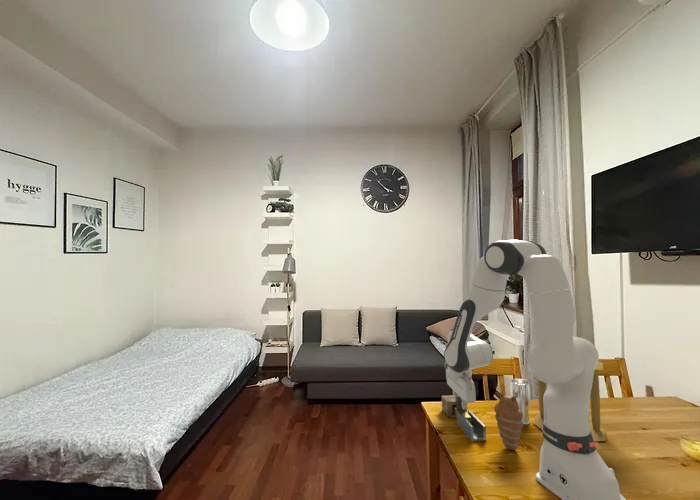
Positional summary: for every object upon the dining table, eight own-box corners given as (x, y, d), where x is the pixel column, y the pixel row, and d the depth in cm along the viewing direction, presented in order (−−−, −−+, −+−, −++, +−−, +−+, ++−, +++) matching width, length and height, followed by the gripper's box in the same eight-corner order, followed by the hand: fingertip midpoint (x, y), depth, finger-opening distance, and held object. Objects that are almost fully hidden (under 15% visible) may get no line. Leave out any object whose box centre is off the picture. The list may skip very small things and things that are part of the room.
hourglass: (539, 438, 119) (537, 365, 120) (527, 411, 141) (524, 350, 142) (620, 448, 112) (616, 370, 113) (594, 418, 134) (591, 353, 135)
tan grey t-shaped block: (471, 425, 127) (471, 403, 127) (463, 425, 127) (463, 404, 127) (457, 409, 141) (456, 390, 141) (449, 409, 141) (449, 390, 141)
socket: (467, 416, 137) (466, 401, 137) (447, 417, 136) (447, 402, 136) (460, 409, 143) (460, 394, 144) (442, 410, 143) (441, 395, 143)
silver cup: (535, 425, 129) (533, 384, 129) (516, 425, 129) (515, 384, 129) (525, 416, 136) (524, 378, 136) (508, 416, 136) (506, 378, 136)
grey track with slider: (486, 441, 118) (485, 426, 118) (471, 441, 117) (471, 427, 118) (470, 423, 131) (469, 410, 131) (456, 424, 130) (456, 410, 131)
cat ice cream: (491, 448, 113) (490, 393, 114) (503, 440, 118) (501, 387, 119) (519, 459, 106) (516, 401, 107) (529, 450, 111) (527, 394, 112)
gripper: (479, 377, 123) (480, 416, 123) (457, 361, 144) (458, 395, 143) (462, 378, 123) (463, 417, 122) (443, 362, 143) (443, 395, 143)
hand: (460, 405), depth 133 cm, fingers open, 5 cm apart
